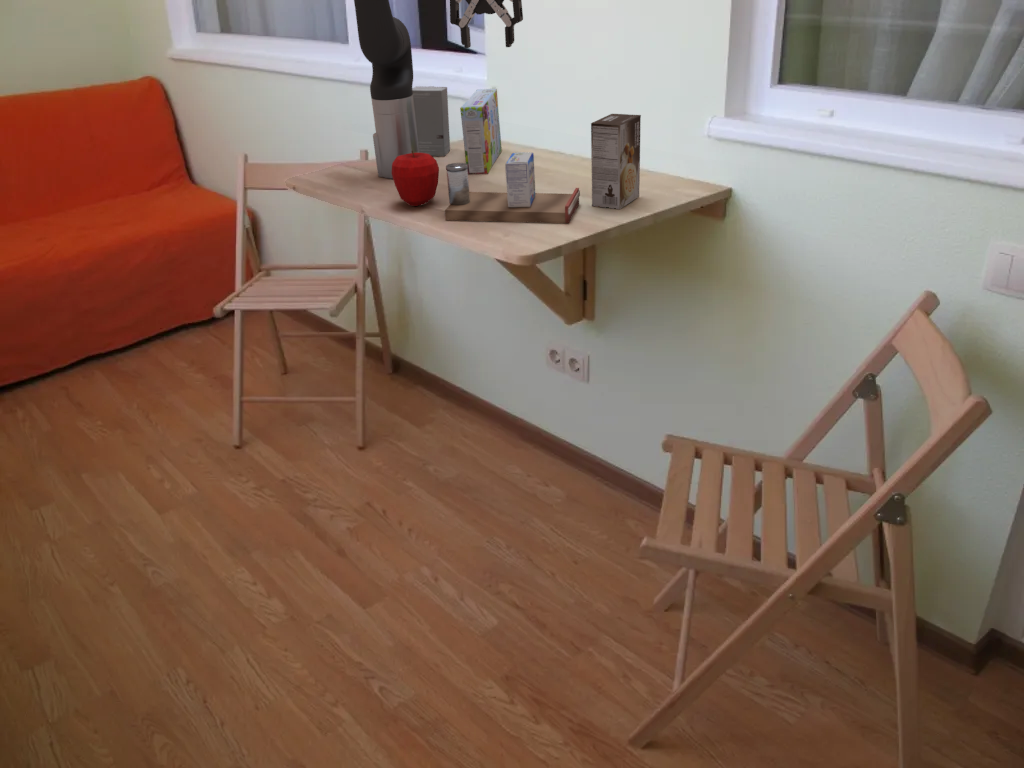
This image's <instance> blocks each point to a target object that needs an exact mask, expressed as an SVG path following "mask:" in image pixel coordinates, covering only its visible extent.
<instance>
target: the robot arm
mask: <svg viewBox="0 0 1024 768" xmlns="http://www.w3.org/2000/svg"><path fill="white" fill-rule="evenodd" d="M462 1H463V0H449V22H450V24H451V25H454V26H457V27H459V30H460V42H461V45H462V46H464V49H469V48H471V46H472V45H471V29H470V26H469V24H470V22H471V21H472V19H473V18H474V17H475V16H476V15H484V14H486V15H493V14H495V13H496V15H497V16H498V17H499V18H500V19H501V20H502V22H503V24H504V25H505V27H504V36H505V37H504V38H505V39H504V40H505V48H511V47H512V45H513V44H514V43H515V25H516V24H519V23H520V22H522V21H523V20H524V14H523V3H522V0H509V1H510V2H512V12H513V17H512V16H511V14H510V13H509V10H508V9H507V8H506V6H505V5H504V4H503V3H504V2H505V0H465V1H466V3H467V4H468V6H467V7H466V10H465V11H464V13H463V16H462V17H460V3H462ZM353 2H354V8H355V9H354V11H355V16H356V17H355V18H356V25H357V27H356V28H357V35H358V36H357V37H358V42H359V47H360V50H361V52H362V53H363V54H362V55H363V56H364V57H365V59H366V60H367V61H368V62H369V63H371V67H372V77H371V82H370V84H369V90H370V91H369V92H370V97H371V105H372V113H373V121H374V127H375V128H374V129H375V132H374V133H373V134H372V141H373V148H374V153H375V154H374V155H375V161H376V162H375V164H376V169H377V170H376V171H377V176H378V178H379V177H382V178H386V179H391V180H392V179H393V177H392V163H393V161H394V160H395V159H396V157H397V156H400V155H405V154H409V153H412V151H413V153H419V146H418V137H417V128H416V118H415V109H414V100H413V91H412V88H413V82H414V66H413V65H414V64H413V53H412V44H411V43H412V42H411V37H410V32H409V30H408V28H407V27H406V24H405V23H403V22H402V20H400V19H399V18H397V17H394V15H393V13H392V9H391V4H390V1H389V0H353ZM475 14H476V15H475Z"/></svg>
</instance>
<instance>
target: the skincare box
mask: <svg viewBox="0 0 1024 768" xmlns="http://www.w3.org/2000/svg"><path fill="white" fill-rule="evenodd" d="M412 91H413V100H414V109H415V118H416V128H417V137H418V146H419V153H427V154H430V155H431V156H432V157H445V156H446V155H448V153H450V151H451V141H450V140H451V138H450V121H449V102H448V101H449V100H448V87H447V86H434V85H433V86H431V85H430V86H420V85H419V86H415V87H412Z"/></svg>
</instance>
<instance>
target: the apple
mask: <svg viewBox="0 0 1024 768" xmlns="http://www.w3.org/2000/svg"><path fill="white" fill-rule="evenodd" d="M439 174H440V167H439V164H438V162H437V159H436V158H434V156H431V155H430V154H427V153H413V151H412V153H409V154H405V155H400V156H397V157H396V159H395V160H394V161H393V163H392V177H393V183H394V187H395V188H396V192H398V195H399V198H400V199H401V201H403V202H405V203H406V204H407V205H408V206H410V207H417V206H423V205H425V204H428V203H429V202H430V201H431V200H432V199H434V198H435V196H436V193H437V188H438V185H439V179H440V178H439Z"/></svg>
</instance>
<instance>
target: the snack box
mask: <svg viewBox="0 0 1024 768" xmlns="http://www.w3.org/2000/svg"><path fill="white" fill-rule="evenodd" d="M459 108H460V109H459V110H460V118H461V119H460V120H461V126H462V127H461V128H462V137H463V147H464V156H465V163H466V164H467V165H468V169H467V171H468V175H472V174H471V173H474V174H473V175H477V174H478V175H479V174H480V175H481V174H482V175H483V174H485V175H486V174H487V175H488V174H489V172H490V171H491V169H492V167H493V165H494V163H495V162H496V161H497V159H498V158H499V156H500V154H501V153H502V151H503V148H502V139H501V137H502V136H501V125H500V114H499V112H500V111H499V103H498V90H497V88H484V89H483V88H482V89H481V88H480V89H476V91H474V93H473V94H471V95H470V97H468V99H467V100H466V101H465V102H464V103H463V104H462V105H461V106H460V107H459ZM475 173H476V174H475Z"/></svg>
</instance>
